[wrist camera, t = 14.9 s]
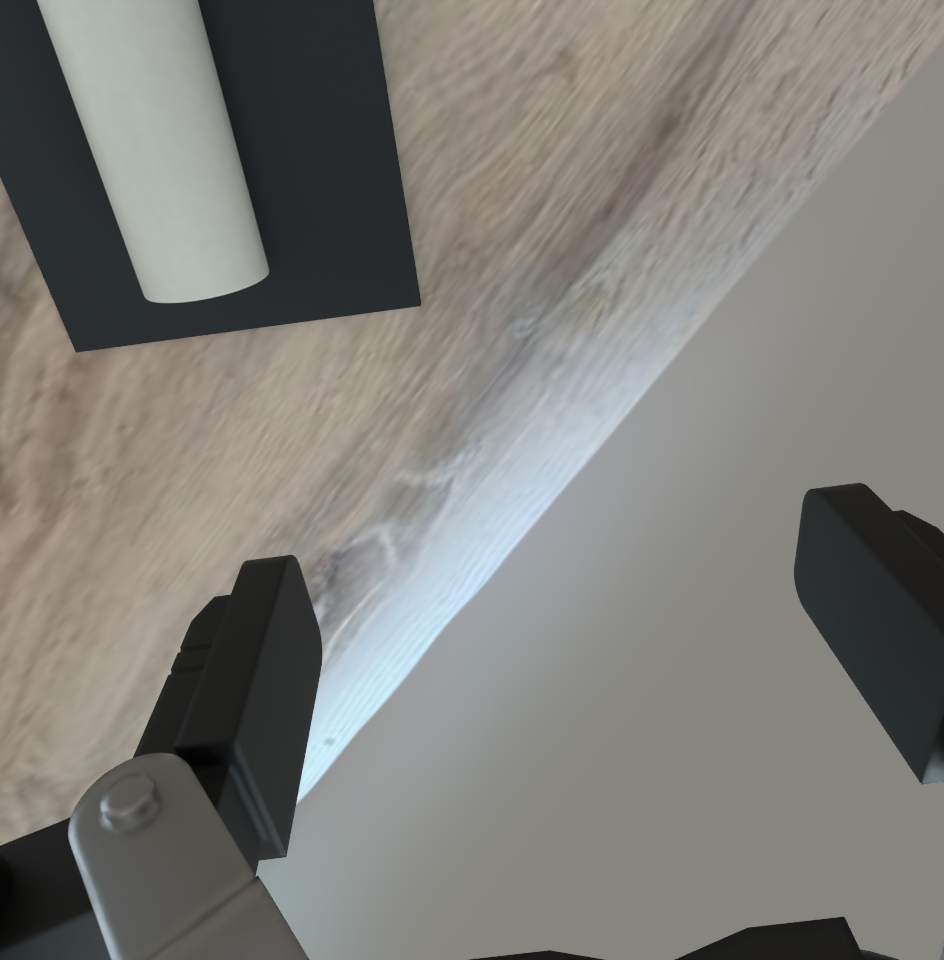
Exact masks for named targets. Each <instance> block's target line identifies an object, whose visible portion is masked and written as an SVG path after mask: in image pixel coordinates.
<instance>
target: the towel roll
mask: <svg viewBox="0 0 944 960" xmlns="http://www.w3.org/2000/svg"><path fill="white" fill-rule="evenodd" d="M37 2H38V5H39V8H40V10H41V13H42V16H43V19H44V21H45V24H46V27H47V30H48V32H49V35H50V38H51V41H52V43H53V46H54V49H55V52H56V54H57V57H58V60H59V63H60V65H61V68H62V71H63V74H64V76H65V79H66V82H67V85H68V88H69V90H70V93H71V96H72V99H73V101H74V104H75V107H76V110H77V112H78V115H79V118H80V121H81V123H82V126H83V129H84V132H85V134H86V137H87V140H88V143H89V145H90V148H91V151H92V154H93V157H94V159H95V162H96V165H97V168H98V170H99V173H100V176H101V179H102V181H103V184H104V187H105V190H106V192H107V195H108V198H109V201H110V203H111V206H112V209H113V212H114V214H115V217H116V220H117V223H118V225H119V228H120V231H121V234H122V237H123V239H124V242H125V245H126V248H127V250H128V253H129V256H130V259H131V261H132V264H133V267H134V270H135V272H136V275H137V278H138V281H139V283H140V286H141V289H142V292H143V294H144V297H145V298H146V299H147V300H149V301H152V302H157V303H181V302H191V301H197V300H203V299H209V298H213V297H218V296H222V295H226V294H229V293H233V292H236V291H239V290H242V289H244V288H247V287H249V286H252V285H254V284H256V283H258V282H260V281H261V280H263V279H264V278H265V277H267V275H268V274H269V267H268V263H267V259H266V256H265V252H264V248H263V244H262V241H261V237H260V233H259V229H258V225H257V222H256V218H255V214H254V210H253V207H252V203H251V199H250V195H249V192H248V188H247V184H246V180H245V176H244V173H243V169H242V165H241V161H240V158H239V154H238V150H237V146H236V143H235V139H234V135H233V131H232V127H231V124H230V120H229V116H228V112H227V109H226V105H225V101H224V97H223V93H222V90H221V86H220V82H219V78H218V75H217V71H216V67H215V63H214V60H213V56H212V52H211V48H210V44H209V41H208V37H207V33H206V29H205V26H204V22H203V18H202V14H201V11H200V7H199V3H198V0H37Z"/></svg>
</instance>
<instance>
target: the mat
mask: <svg viewBox="0 0 944 960" xmlns="http://www.w3.org/2000/svg"><path fill="white" fill-rule="evenodd" d="M198 3H199V7H200V11H201V14H202V18H203V22H204V26H205V29H206V33H207V37H208V41H209V44H210V48H211V52H212V56H213V60H214V63H215V67H216V71H217V75H218V78H219V82H220V86H221V90H222V93H223V97H224V101H225V105H226V109H227V112H228V116H229V120H230V124H231V127H232V131H233V135H234V139H235V143H236V146H237V150H238V154H239V158H240V161H241V165H242V169H243V173H244V176H245V180H246V184H247V188H248V192H249V195H250V199H251V203H252V207H253V210H254V214H255V218H256V222H257V225H258V229H259V233H260V237H261V241H262V244H263V248H264V252H265V256H266V259H267V263H268V267H269V274H268V275H267V277H265V278H264V279H263V280H261V281H260V282H258V283H256V284H254V285H252V286H249V287H247V288H244V289H242V290H239V291H236V292H233V293H229V294H226V295H222V296H218V297H213V298H209V299H203V300H197V301H191V302H181V303H157V302H152V301H149V300H147V299H146V298H145V297H144V294H143V292H142V289H141V286H140V283H139V281H138V278H137V275H136V272H135V270H134V267H133V264H132V261H131V259H130V256H129V253H128V250H127V248H126V245H125V242H124V239H123V237H122V234H121V231H120V228H119V225H118V223H117V220H116V217H115V214H114V212H113V209H112V206H111V203H110V201H109V198H108V195H107V192H106V190H105V187H104V184H103V181H102V179H101V176H100V173H99V170H98V168H97V165H96V162H95V159H94V157H93V154H92V151H91V148H90V145H89V143H88V140H87V137H86V134H85V132H84V129H83V126H82V123H81V121H80V118H79V115H78V112H77V110H76V107H75V104H74V101H73V99H72V96H71V93H70V90H69V88H68V85H67V82H66V79H65V76H64V74H63V71H62V68H61V65H60V63H59V60H58V57H57V54H56V52H55V49H54V46H53V43H52V41H51V38H50V35H49V32H48V30H47V27H46V24H45V21H44V19H43V16H42V13H41V10H40V8H39V5H38V2H37V0H0V177H1V179H2V181H3V184H4V186H5V188H6V191H7V193H8V195H9V198H10V200H11V202H12V205H13V207H14V209H15V212H16V214H17V216H18V219H19V221H20V223H21V226H22V228H23V230H24V233H25V235H26V237H27V240H28V242H29V244H30V247H31V249H32V251H33V254H34V256H35V258H36V261H37V263H38V265H39V267H40V270H41V272H42V274H43V277H44V279H45V281H46V284H47V286H48V288H49V291H50V293H51V295H52V298H53V300H54V302H55V305H56V307H57V309H58V312H59V314H60V316H61V319H62V321H63V323H64V326H65V328H66V330H67V333H68V335H69V337H70V340H71V342H72V344H73V347H74V349H75V351H76V352H83V351H90V350H98V349H105V348H112V347H120V346H127V345H135V344H142V343H149V342H157V341H164V340H172V339H179V338H186V337H194V336H201V335H209V334H216V333H223V332H231V331H238V330H246V329H253V328H261V327H268V326H275V325H283V324H290V323H298V322H305V321H312V320H320V319H327V318H335V317H342V316H349V315H357V314H364V313H372V312H379V311H386V310H394V309H401V308H409V307H416V306H421V299H420V292H419V286H418V280H417V274H416V267H415V261H414V255H413V249H412V242H411V236H410V230H409V224H408V217H407V211H406V205H405V199H404V192H403V186H402V180H401V174H400V167H399V161H398V155H397V149H396V142H395V136H394V130H393V124H392V117H391V111H390V105H389V99H388V92H387V86H386V80H385V74H384V67H383V61H382V55H381V49H380V42H379V36H378V30H377V24H376V17H375V11H374V5H373V0H198Z"/></svg>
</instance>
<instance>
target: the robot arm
mask: <svg viewBox="0 0 944 960" xmlns="http://www.w3.org/2000/svg"><path fill="white" fill-rule="evenodd" d="M794 579H795V585H796V590H797V593H798V597H799V599H800V602H801V604H802V606H803V608H804V609H805V611H806V612H807V614H808V615H809V617H810V618H811V620H812V621H813V623H814V624H815V626H816V627H817V629H818V630H819V632H820V633H821V635H822V636H823V638H824V639H825V641H826V642H827V643H828V645H829V647H830V648H831V650H832V651H833V653H834V654H835V656H836V657H837V659H838V660H839V662H840V663H841V665H842V666H843V668H844V669H845V671H846V672H847V674H848V675H849V677H850V678H851V679H852V681H853V682H854V684H855V686H856V687H857V689H858V690H859V692H860V693H861V695H862V696H863V697H864V699H865V701H866V702H867V704H868V705H869V706H870V708H871V709H872V711H873V713H874V714H875V716H876V717H877V718H878V720H879V721H880V723H881V725H882V726H883V727H884V729H885V730H886V732H887V734H888V735H889V736H890V738H891V739H892V741H893V742H894V744H895V745H896V747H897V748H898V750H899V751H900V753H901V754H902V756H903V757H904V759H905V760H906V762H907V763H908V765H909V766H910V768H911V769H912V771H913V772H914V774H915V775H916V777H917V778H918V779H919V781H920V783H921V784H929V783H938V782H944V534H943V533H942V532H941V531H940V530H939V529H938V528H937V527H935V526H933V525H931V524H929V523H927V522H925V521H923V520H921V519H919V518H917V517H915V516H913V515H911V514H910V513H907V512H905V511H903V510H900V511H892V510H891V509H890V508H889V507H888V506H887V505H886V504H885V503H884V502H883V501H882V500H881V499H880V498H879V497H878V496H877V495H876V494H875V493H874V492H873V491H872V490H871V489H870V488H869V487H868V486H866V485H865V484H862V483H855V484H847V485H839V486H832V487H824V488H816V489H810V490H808V492H807V493H806V495H805V497H804V500H803V505H802V514H801V520H800V528H799V536H798V543H797V551H796V558H795V566H794ZM180 648H181V652H180V653H178V654H177V656H176V659H175V661H174V663H173V666H172V668H171V675H168V677H167V680H166V682H165V684H164V687H163V689H162V691H161V694H160V696H159V698H158V701H157V703H156V705H155V708H154V710H153V712H152V715H151V717H150V719H149V722H148V724H147V726H146V729H145V731H144V733H143V736H142V738H141V740H140V743H139V745H138V747H137V750H136V752H135V754H134V757H133V758H132V759H130V760H127V761H125V762H123V763H121V764H120V765H118V766H116V767H114V768H113V769H111V770H110V771H108V772H107V773H105V774H104V775H103V776H102V777H100V778H99V779H98V780H97V781H96V782H95V783H94V784H93V785H92V786H91V787H90V788H89V789H88V790H87V791H86V792H85V794H84V795H83V796H82V797H81V799H80V800H79V802H78V804H77V805H76V807H75V809H74V811H73V813H72V816H71V817H70V818H68V819H66V820H63V821H61V822H59V823H56V824H54V825H51V826H49V827H46V828H44V829H41V830H39V831H36V832H34V833H31V834H29V835H26V836H24V837H21V838H19V839H16V840H13V841H11V842H8V843H6V844H3V845H1V846H0V960H309V958H308V957H307V955H306V953H305V952H304V950H303V948H302V947H301V945H300V944H299V942H298V940H297V938H296V937H295V935H294V933H293V932H292V930H291V929H290V927H289V925H288V923H287V922H286V920H285V919H284V917H283V915H282V914H281V912H280V910H279V908H278V907H277V905H276V904H275V902H274V900H273V898H272V897H271V895H270V894H269V892H268V890H267V889H266V887H265V886H264V884H263V883H262V881H261V880H260V878H259V877H258V876H257V877H256V876H255V875H256V871H257V866H258V862H259V860H266V859H274V858H283V857H286V856H287V850H288V845H289V839H290V833H291V828H292V823H293V818H294V812H295V807H296V802H297V796H298V791H299V785H300V780H301V774H302V769H303V764H304V758H305V753H306V747H307V742H308V737H309V731H310V726H311V720H312V715H313V710H314V704H315V699H316V693H317V688H318V682H319V677H320V672H321V666H322V642H321V635H320V630H319V626H318V623H317V619H316V616H315V613H314V610H313V607H312V603H311V600H310V597H309V594H308V591H307V587H306V584H305V581H304V578H303V575H302V571H301V568H300V565H299V563H298V561H297V559H296V557H295V556H294V555H287V556H279V557H272V558H264V559H256V560H249V561H245V562H244V563H243V565H242V567H241V569H240V572H239V574H238V577H237V580H236V582H235V585H234V588H233V590H232V593H231V595H225V596H218V597H214V598H213V599H212V600H211V601H210V602H209V603H208V604H207V605H206V606H205V607H204V609H203V610H202V611H201V612H200V613H199V614H198V615H197V616H196V617H195V618H194V619H193V620H192V621H191V624H190V626H189V628H188V631H187V633H186V635H185V638H184V640H183V642H182V645H181V647H180ZM471 960H603V959H597V958H591V957H585V956H579V955H573V954H567V953H561V952H555V951H550V950H549V951H542V952H532V953H523V954H514V955H506V956H497V957H488V958H480V959H471ZM675 960H898V959H895V958H892V957H888V956H885V955H881V954H878V953H874V952H871V951H866V950H860V949H859V947H858V945H857V942H856V940H855V938H854V936H853V934H852V932H851V930H850V928H849V926H848V924H847V921H846V919H845V917H838V918H829V919H821V920H812V921H803V922H794V923H786V924H776V925H768V926H759V927H750V928H746V929H744V930H742V931H739V932H737V933H735V934H732V935H730V936H728V937H726V938H723V939H721V940H719V941H716V942H714V943H712V944H709V945H707V946H705V947H703V948H700V949H698V950H696V951H694V952H691V953H689V954H687V955H685V956H682V957H680V958H678V959H675ZM940 960H944V945H943V949H942V953H941V957H940Z"/></svg>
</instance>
